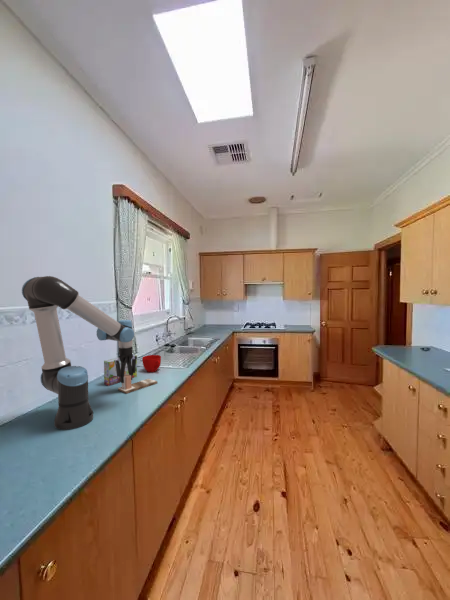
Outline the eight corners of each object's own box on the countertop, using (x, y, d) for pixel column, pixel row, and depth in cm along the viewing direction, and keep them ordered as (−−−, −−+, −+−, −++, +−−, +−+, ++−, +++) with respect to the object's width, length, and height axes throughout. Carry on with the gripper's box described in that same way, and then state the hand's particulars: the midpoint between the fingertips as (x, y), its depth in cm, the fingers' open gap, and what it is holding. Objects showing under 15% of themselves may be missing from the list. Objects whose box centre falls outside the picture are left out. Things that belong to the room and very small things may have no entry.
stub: (125, 391, 152) (125, 378, 152) (117, 388, 157) (117, 375, 157) (135, 388, 157) (135, 375, 157) (128, 385, 162) (127, 373, 162)
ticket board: (126, 393, 152) (126, 390, 152) (118, 390, 158) (118, 387, 158) (157, 383, 168) (157, 380, 168) (148, 380, 174) (148, 378, 174)
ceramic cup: (151, 376, 183) (151, 361, 183) (139, 371, 195) (138, 357, 194) (168, 371, 192) (167, 357, 192) (154, 367, 204) (154, 354, 204)
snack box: (109, 386, 164) (108, 361, 164) (103, 384, 167) (103, 360, 167) (137, 376, 182) (137, 354, 182) (132, 375, 185) (131, 353, 185)
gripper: (134, 343, 165) (135, 381, 165) (108, 348, 152) (110, 389, 153) (141, 345, 160) (142, 384, 161) (115, 350, 147) (117, 392, 148)
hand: (126, 387), depth 157 cm, fingers closed on stub, 3 cm apart
